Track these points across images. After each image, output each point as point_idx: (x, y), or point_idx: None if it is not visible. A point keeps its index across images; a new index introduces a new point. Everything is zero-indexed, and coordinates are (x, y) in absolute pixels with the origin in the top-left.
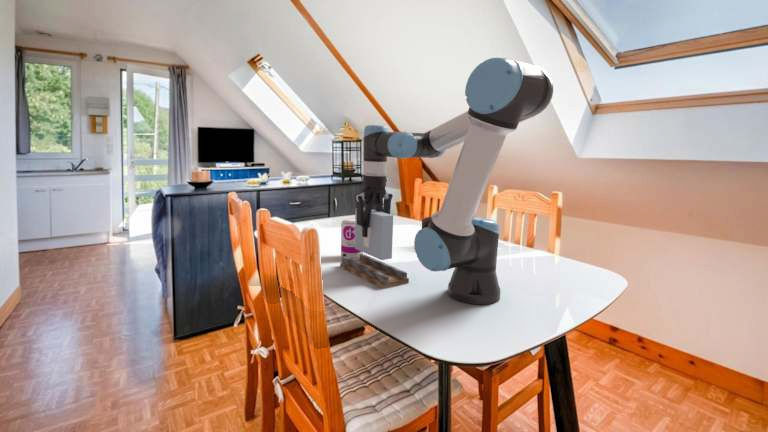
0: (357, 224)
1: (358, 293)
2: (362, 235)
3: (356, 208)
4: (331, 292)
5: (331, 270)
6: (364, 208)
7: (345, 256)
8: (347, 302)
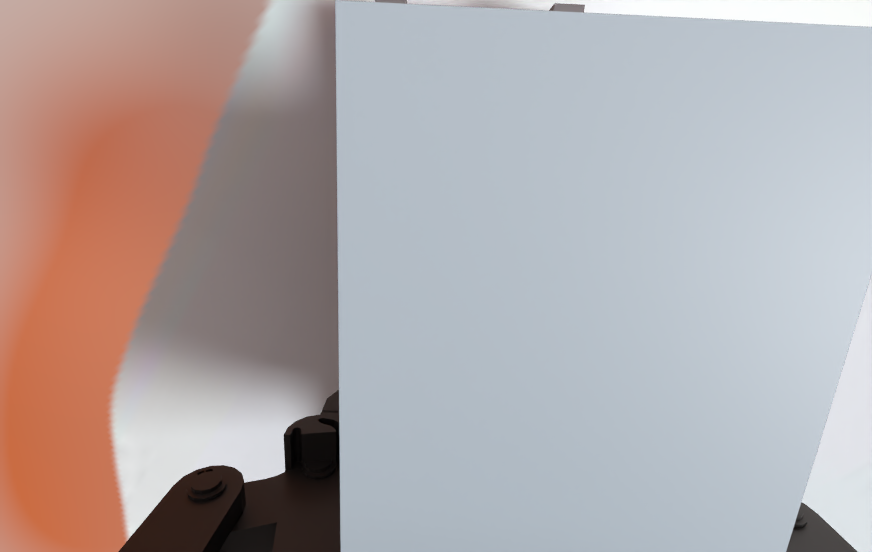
0: (193, 481)
1: (231, 465)
2: (331, 401)
3: (370, 45)
4: (118, 389)
5: (272, 59)
6: (704, 234)
7: (403, 2)
8: (139, 516)
